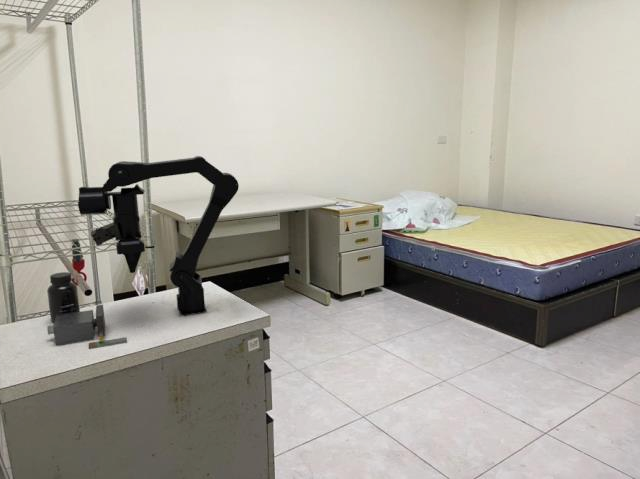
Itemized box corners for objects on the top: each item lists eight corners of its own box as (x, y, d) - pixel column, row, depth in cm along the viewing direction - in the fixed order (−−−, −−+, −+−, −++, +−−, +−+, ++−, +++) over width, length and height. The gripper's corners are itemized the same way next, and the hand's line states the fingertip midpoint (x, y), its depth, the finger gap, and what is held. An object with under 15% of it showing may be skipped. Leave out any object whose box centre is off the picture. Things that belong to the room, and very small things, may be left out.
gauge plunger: (105, 323, 120) (102, 304, 119) (105, 343, 109) (102, 323, 108) (51, 331, 116) (48, 312, 115) (44, 353, 104) (41, 332, 103)
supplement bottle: (68, 324, 121) (62, 279, 118) (45, 323, 122) (38, 278, 119) (86, 314, 127) (81, 271, 125) (64, 313, 129) (58, 270, 126)
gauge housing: (125, 322, 122) (123, 305, 121) (127, 342, 111) (125, 324, 110) (58, 332, 116) (56, 315, 115) (53, 354, 105) (50, 335, 104)
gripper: (91, 209, 125) (98, 267, 129) (89, 221, 108) (97, 287, 112) (137, 206, 129) (142, 262, 133) (141, 217, 113) (147, 281, 116)
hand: (132, 272), depth 123 cm, fingers closed
